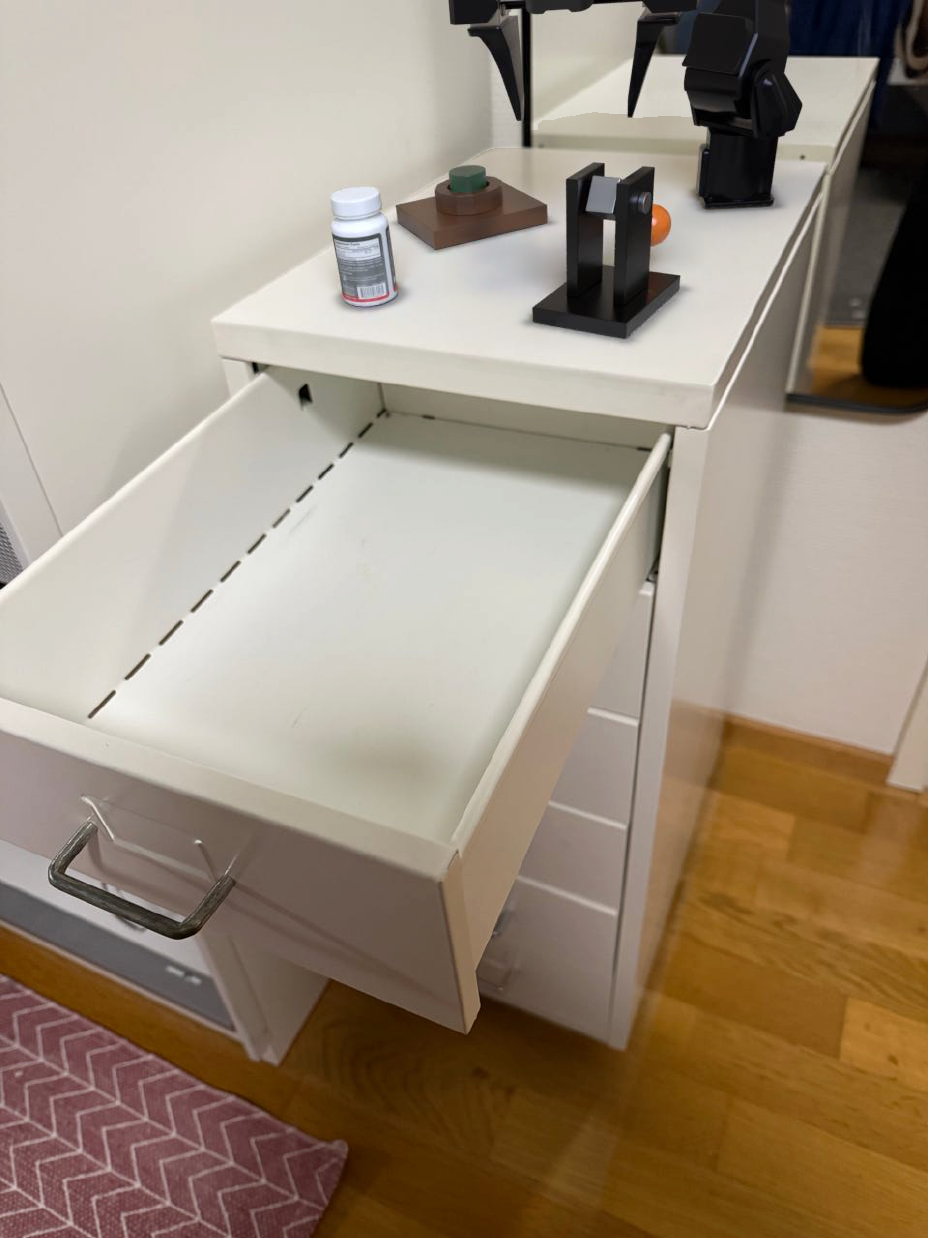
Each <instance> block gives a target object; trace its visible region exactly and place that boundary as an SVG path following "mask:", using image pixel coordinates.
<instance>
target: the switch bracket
mask: <svg viewBox="0 0 928 1238" xmlns="http://www.w3.org/2000/svg"><path fill="white" fill-rule="evenodd" d="M655 173H656V167H655V166H647V165H646V166H645V165H642V166H641V167H639V168H638V169H636V170H635V171H633V172H632V173H631V174H629V175H627V176H626V177H625V178H623V179H622V180H621V181H620V182H618V183H617V184H616V215H615V221H614V248H613V249H614V252H613V255H614V256H613V265H609V264H604V230H605V229H604V228H605V227H604V225H605V220H603V219H599V218H597V217H596V216H594V215H592V214H590V213H589V212H587V211H586V206H587V201H588V196H589V192H590V187H591V182H592V178H593V176H604V177H606V175H605V174H606V163H605V162H598V161H597V162H596V161H593V162H591V163H589V164H588V165H587V166H585V167H583V168H582V169H580V170H578V171H576V172H575V173H573V174H572V175H570V176H569V177H567V178H566V179H565V255H566V256H565V257H566V259H565V262H566V263H565V265H566V267H565V268H566V269H565V270H566V273H565V274H566V275H565V276H566V281H565V282H564V283H563V284H561V285H560V286H559V287H557V288H555V290H554V291H552V292H550V294H548V295H547V296H545V297H544V298H543V299H542V300H540V301H539V302H537V303H536V304H535V305H534V306H532V307H531V309H532V311H531V312H532V313H531V314H532V322H533V323H536V324H543V325H549V326H553V327H554V326H555V327H559V328H563V329H564V328H565V329H570V330H576V331H581V332H585V333H592V334H598V335H602V336H603V335H604V336H610V337H614V338H620V339H627V338H629V336H630V335H632V334H633V333H634V332H635V331H636V330H637V329H638V328H639V327H640V326H641V325H643V324H644V323H645V322H646V321H647V320H648V319H649V318H650V317H651V316H652V315H653V314H655V312H657V311H658V310H659V309H660V308H661V307H662V306H663V305H664V304H665V303H666V302H667V301H668V300H670V299H671V298H672V297H673V296H674V295H675V294H676V293H678V291H680V285H681V275H680V274H673V273H667V272H660V271H651V270H650V264H651V263H650V262H651V247H652V246H651V230H652V212H653V204H654V191H655Z"/></svg>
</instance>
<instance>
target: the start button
mask: <svg viewBox="0 0 928 1238" xmlns="http://www.w3.org/2000/svg"><path fill="white" fill-rule="evenodd" d="M486 176H487V169H486V167H485V166H483V165H480V164H479V165H478V164H467V165H460V166H457V167H453V168H451V169H449V171H448V179H449V183H450V191H455V192H472V191H477V190H481V189H484V188H486V187H487V181H486Z"/></svg>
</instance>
